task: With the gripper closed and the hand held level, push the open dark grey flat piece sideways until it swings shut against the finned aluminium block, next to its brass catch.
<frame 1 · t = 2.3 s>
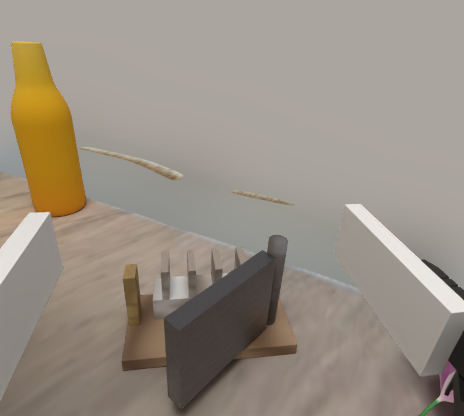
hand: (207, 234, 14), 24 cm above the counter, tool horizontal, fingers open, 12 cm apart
beer bottle: (61, 207, 65), on the counter
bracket: (208, 327, 40), on the counter
dark grey flat piece: (224, 323, 32), point 7 cm above the counter, hinge at 40.0°
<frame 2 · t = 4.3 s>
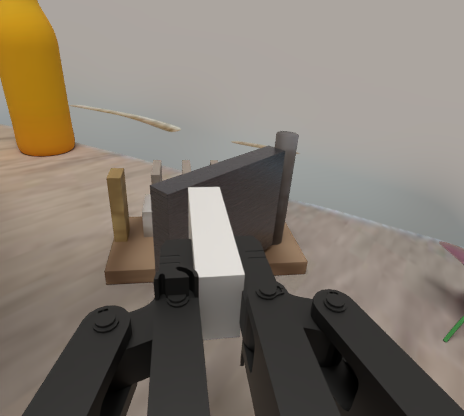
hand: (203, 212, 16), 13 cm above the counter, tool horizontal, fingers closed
beer bottle: (48, 149, 60), on the counter
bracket: (206, 249, 36), on the counter
dark grey flat piece: (224, 221, 27), point 7 cm above the counter, hinge at 40.0°
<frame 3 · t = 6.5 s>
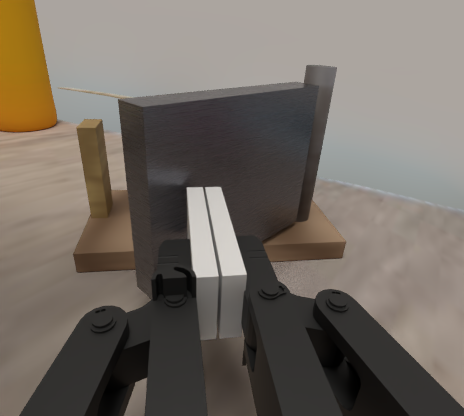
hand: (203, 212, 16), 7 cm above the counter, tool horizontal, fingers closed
beer bottle: (26, 126, 52), on the counter
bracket: (211, 229, 28), on the counter
dark grey flat piece: (234, 178, 20), point 7 cm above the counter, hinge at 37.3°, touching gripper
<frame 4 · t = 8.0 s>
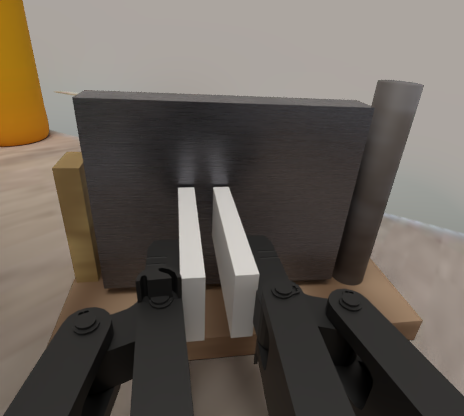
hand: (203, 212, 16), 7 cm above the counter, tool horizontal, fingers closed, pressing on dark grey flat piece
beer bottle: (14, 138, 46), on the counter
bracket: (234, 290, 21), on the counter
dark grey flat piece: (225, 198, 17), point 7 cm above the counter, hinge at -1.2°, touching gripper
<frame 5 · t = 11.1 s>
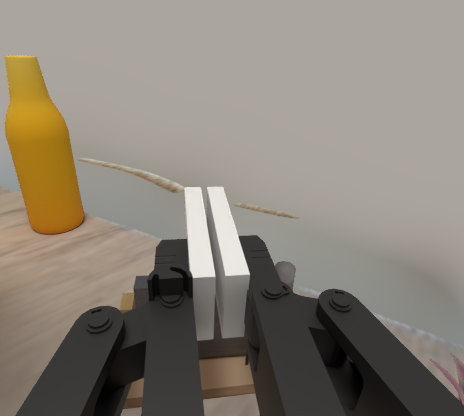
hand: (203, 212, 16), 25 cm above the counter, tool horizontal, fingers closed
beer bottle: (59, 223, 63), on the counter
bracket: (211, 357, 38), on the counter
dark grey flat piece: (203, 317, 34), point 7 cm above the counter, hinge at -1.8°, touching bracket
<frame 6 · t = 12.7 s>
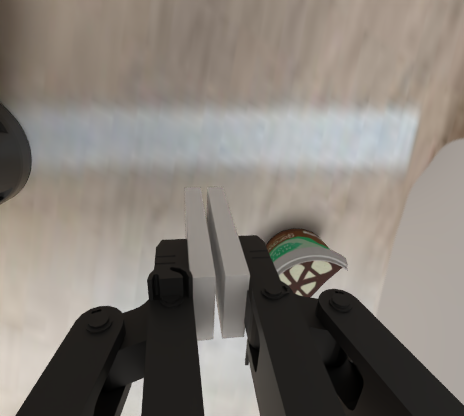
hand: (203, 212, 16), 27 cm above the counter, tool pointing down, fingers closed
food container: (280, 245, 48), on the counter
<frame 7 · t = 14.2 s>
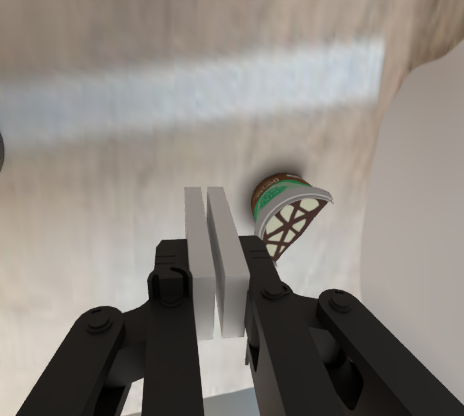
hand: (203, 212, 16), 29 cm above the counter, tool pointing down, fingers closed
food container: (266, 191, 50), on the counter
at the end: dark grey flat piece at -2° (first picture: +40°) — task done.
